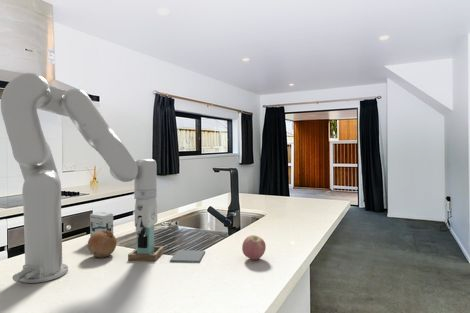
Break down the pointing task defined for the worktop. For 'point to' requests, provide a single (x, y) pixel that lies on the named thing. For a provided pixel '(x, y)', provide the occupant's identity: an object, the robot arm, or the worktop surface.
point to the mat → (187, 256)
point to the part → (149, 242)
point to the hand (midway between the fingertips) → (145, 244)
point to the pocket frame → (146, 255)
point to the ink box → (101, 222)
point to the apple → (253, 247)
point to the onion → (102, 244)
